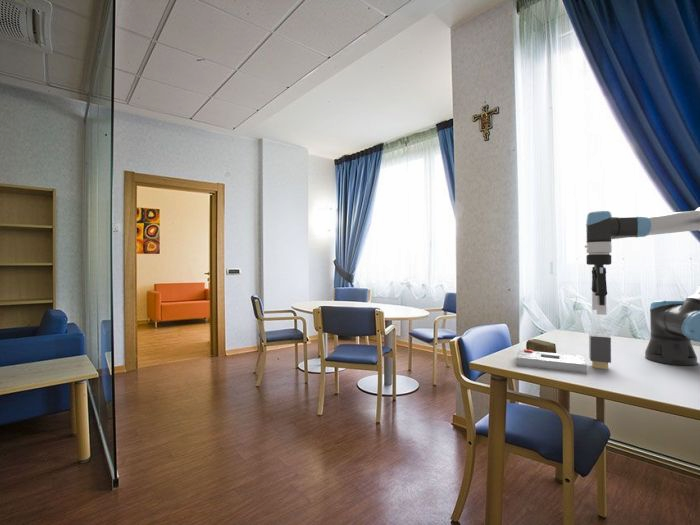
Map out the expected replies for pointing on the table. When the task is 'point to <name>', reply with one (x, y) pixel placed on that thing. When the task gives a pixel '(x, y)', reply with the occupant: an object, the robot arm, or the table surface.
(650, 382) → the table surface
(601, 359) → the plug
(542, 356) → the socket plate
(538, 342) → the stone block
